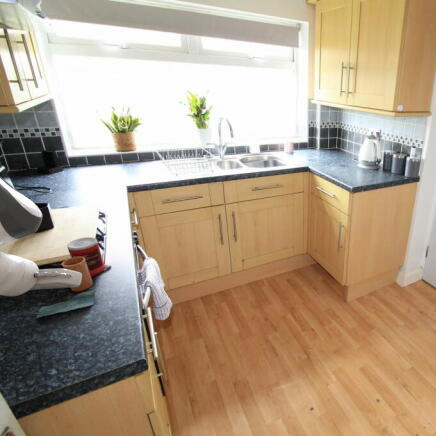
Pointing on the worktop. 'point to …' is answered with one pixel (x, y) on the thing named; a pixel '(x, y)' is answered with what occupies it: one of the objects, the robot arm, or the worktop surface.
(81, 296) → the terrain model
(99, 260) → the canned food
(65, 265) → the terracotta pot
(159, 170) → the worktop surface
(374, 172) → the worktop surface
